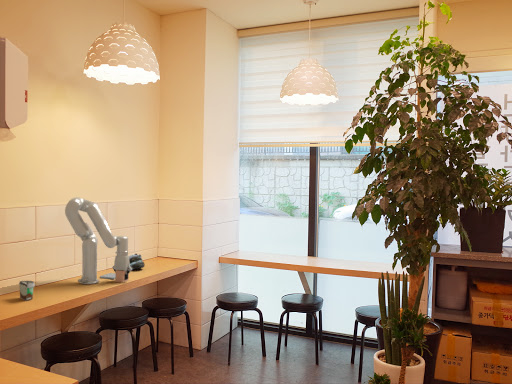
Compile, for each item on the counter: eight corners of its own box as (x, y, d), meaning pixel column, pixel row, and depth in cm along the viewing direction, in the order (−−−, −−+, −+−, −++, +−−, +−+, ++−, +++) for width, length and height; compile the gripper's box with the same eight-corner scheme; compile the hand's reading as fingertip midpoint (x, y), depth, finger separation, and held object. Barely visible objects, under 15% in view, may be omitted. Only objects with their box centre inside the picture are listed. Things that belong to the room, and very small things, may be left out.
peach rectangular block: (123, 282, 325) (123, 271, 325) (115, 281, 327) (115, 270, 327) (128, 280, 331) (128, 269, 331) (120, 279, 333) (120, 268, 333)
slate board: (114, 279, 333) (114, 277, 333) (99, 277, 337) (99, 276, 337) (123, 276, 345) (123, 274, 345) (110, 274, 349) (110, 273, 348)
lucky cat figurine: (125, 271, 360) (121, 254, 364) (127, 274, 371) (123, 258, 375) (144, 265, 362) (140, 249, 367) (146, 268, 374) (142, 252, 378)
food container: (38, 299, 278) (38, 283, 277) (27, 301, 273) (27, 284, 273) (29, 295, 286) (29, 279, 286) (19, 297, 281) (19, 281, 281)
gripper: (108, 253, 327) (108, 279, 328) (129, 255, 322) (129, 281, 323) (115, 252, 334) (114, 276, 335) (136, 253, 329) (135, 279, 330)
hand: (122, 278), depth 329 cm, fingers closed on peach rectangular block, 6 cm apart
